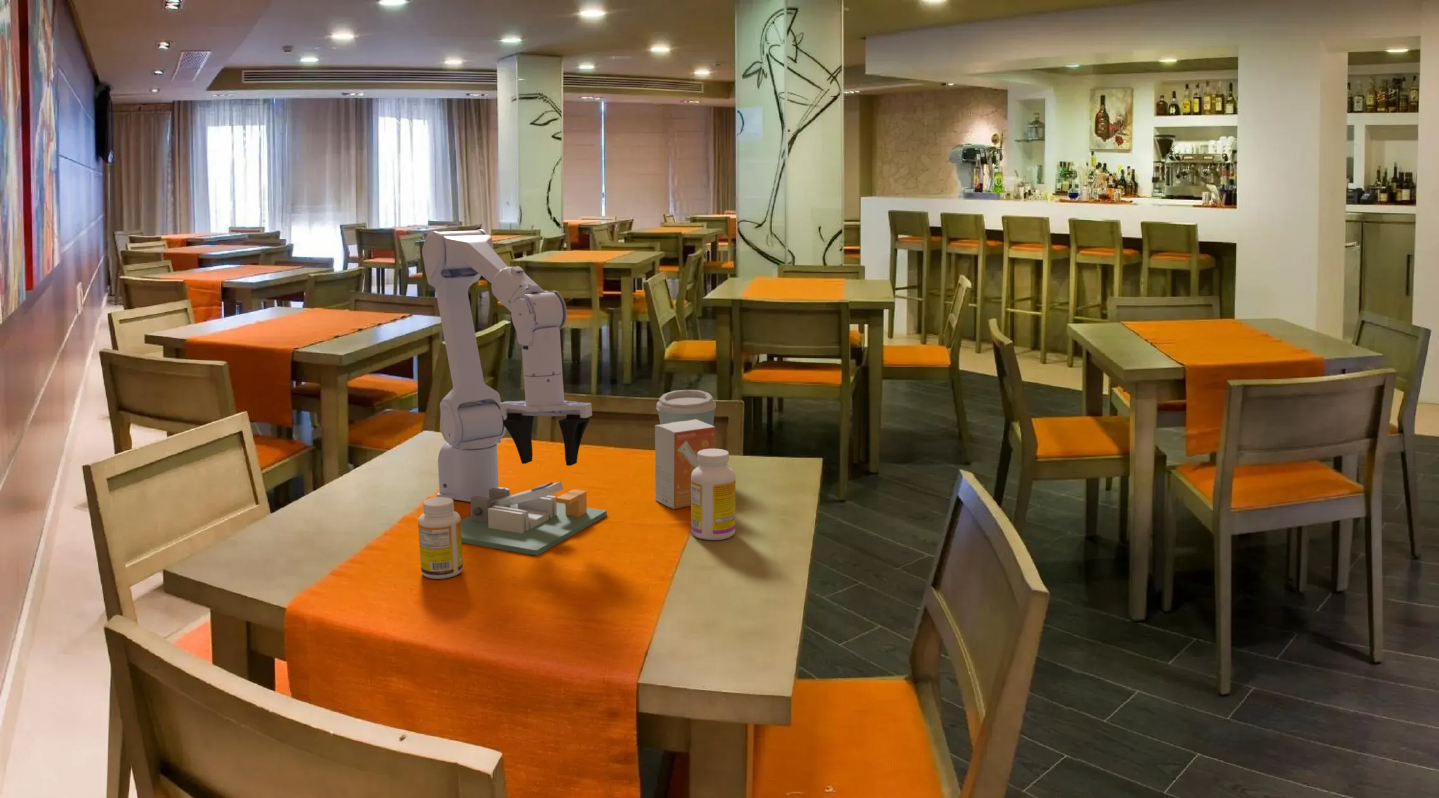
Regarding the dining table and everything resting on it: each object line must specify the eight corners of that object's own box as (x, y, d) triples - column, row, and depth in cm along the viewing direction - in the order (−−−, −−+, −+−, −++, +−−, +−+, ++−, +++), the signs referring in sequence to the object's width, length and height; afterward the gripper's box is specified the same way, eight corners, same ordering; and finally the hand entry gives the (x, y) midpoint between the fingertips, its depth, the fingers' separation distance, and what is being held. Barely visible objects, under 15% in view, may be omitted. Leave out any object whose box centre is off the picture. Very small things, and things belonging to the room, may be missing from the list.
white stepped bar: (486, 511, 167) (482, 502, 167) (497, 506, 170) (494, 497, 169) (552, 494, 161) (549, 484, 161) (563, 488, 164) (560, 479, 164)
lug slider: (586, 512, 170) (586, 491, 170) (569, 521, 166) (569, 499, 165) (573, 510, 171) (573, 489, 171) (556, 519, 167) (556, 497, 166)
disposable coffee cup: (715, 485, 188) (716, 401, 185) (654, 485, 188) (653, 401, 185) (716, 468, 198) (717, 389, 195) (658, 468, 199) (657, 388, 195)
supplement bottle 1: (446, 562, 151) (443, 492, 149) (471, 572, 148) (468, 500, 145) (412, 573, 147) (408, 501, 145) (437, 583, 143) (433, 510, 141)
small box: (674, 510, 175) (673, 432, 172) (654, 500, 180) (653, 424, 177) (715, 502, 179) (716, 425, 176) (695, 492, 184) (695, 418, 181)
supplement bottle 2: (740, 530, 165) (741, 448, 163) (726, 543, 159) (727, 459, 156) (699, 525, 167) (700, 444, 165) (684, 538, 161) (684, 455, 159)
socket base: (434, 537, 161) (433, 509, 160) (512, 500, 179) (511, 475, 178) (536, 555, 154) (535, 526, 153) (606, 515, 172) (606, 488, 171)
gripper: (486, 377, 159) (493, 467, 161) (573, 378, 154) (579, 471, 156) (511, 370, 166) (517, 457, 168) (596, 371, 161) (601, 460, 163)
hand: (549, 463), depth 163 cm, fingers open, 7 cm apart
